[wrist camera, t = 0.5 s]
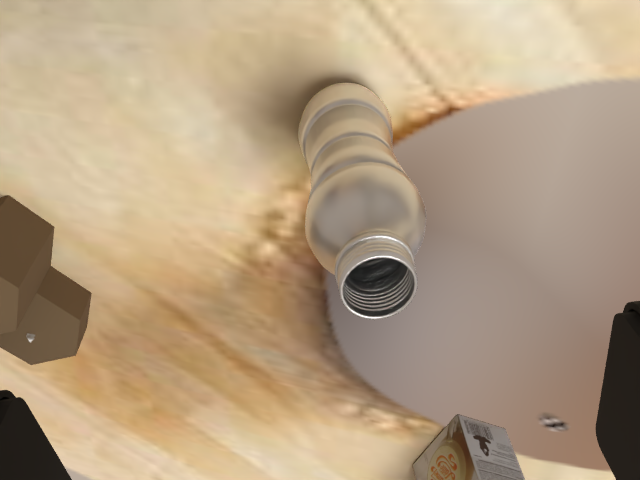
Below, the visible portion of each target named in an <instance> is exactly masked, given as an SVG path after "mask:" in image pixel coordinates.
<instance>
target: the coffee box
mask: <svg viewBox="0 0 640 480" xmlns="http://www.w3.org/2000/svg"><path fill="white" fill-rule="evenodd" d="M413 469H414V473H415V478H416V480H525V478H524V476H523V473H522V471H521V468H520V465H519V463H518V460H517V458H516V455H515V453H514V450H513V447H512V445H511V442H510V439H509V437H508V435H507V432H506V429H504V428H502V427H499V426H495V425H492V424H489V423H485V422H482V421H479V420H475V419H472V418H469V417H466V416H462V415H459V414H457V415H456V416H455V417H454V418H453V419H452V420H451V422H450V423H449V424H448V425H447V426H446V427H445V429H444V430H443V431H442V432H441V433H440V434H439V435H438V437H437V438H436V439H435V440H434V441H433V442H432V443H431V445H430V446H429V447H428V448H427V449H426V450H425V452H424V453H423V454H422V455H421V456H420V457H419V459H418V460H417V461H416V462H415V463H414V464H413Z"/></svg>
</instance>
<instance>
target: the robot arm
mask: <svg viewBox="0 0 640 480" xmlns="http://www.w3.org/2000/svg"><path fill="white" fill-rule="evenodd" d="M596 436H597V440H598V443H599V447H600V448H601V451H602V453H603V454H604V457H605V459H606V461H607V463H608V464H609V466H610V468H611V470H612V472H613V474H614V476H615V478H616V480H640V301H635V302H629V303H627V304H626V305H625V308H624V311H623V313H618V314H616V315H615V316H614V320H613V325H612V331H611V338H610V343H609V349H608V356H607V361H606V367H605V373H604V380H603V386H602V391H601V397H600V404H599V410H598V416H597V422H596ZM0 480H72V479H71V478H70V476H69V474H68V473H67V471H66V469H65V467H64V466H63V464H62V462H61V461H60V459H59V457H58V456H57V454H56V452H55V451H54V449H53V447H52V446H51V444H50V442H49V441H48V439H47V437H46V436H45V434H44V432H43V431H42V429H41V427H40V425H39V424H38V422H37V420H36V419H35V417H34V415H33V414H32V412H31V410H30V409H29V407H28V405H27V404H26V402H25V401H24V400H23V399H22V398H20V397H18V398H16V397H15V396H14V395H13V393H12V392H10V391H8V390H1V391H0Z"/></svg>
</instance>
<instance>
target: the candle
mask: <svg viewBox="0 0 640 480" xmlns="http://www.w3.org/2000/svg"><path fill="white" fill-rule="evenodd" d="M53 234H54V226H52V225H51V224H49V223H48V222H46V221H45V220H44V219H42V218H41V217H39V216H38V215H36V214H35V213H34V212H32V211H31V210H29V209H28V208H26V207H25V206H23V205H22V204H21V203H19V202H18V201H16V200H15V199H13V198H12V197H10V196H5V197H0V347H1V348H2V349H4V350H6V351H8V352H9V353H11V354H13V355H15V356H16V357H18V358H20V359H22V360H23V361H25V362H27V363H29V364H30V365H33V364H38V363H43V362H47V361H52V360H57V359H62V358H66V357H71V356H76V353H77V351H78V348H79V346H80V343H81V341H82V338H83V336H84V333H85V331H86V328H87V322H88V315H89V308H90V300H91V292H89V291H88V290H86V289H85V288H83V287H82V286H80V285H79V284H77V283H76V282H74V281H73V280H71V279H70V278H68V277H67V276H65V275H64V274H62V273H60V272H59V271H57V270H56V269H54V268H53V267H51V257H52V246H53Z"/></svg>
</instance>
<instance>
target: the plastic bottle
mask: <svg viewBox="0 0 640 480" xmlns="http://www.w3.org/2000/svg"><path fill="white" fill-rule="evenodd" d="M392 136H393V133H392V123H391V117H390V114H389V112H388V109H387V108H386V106H385V105H384V103H383V102H382V101H381V100H380V99H379V98H378V97H377V96H376V95H375V94H374V93H373V92H372V91H371V90H369V89H367V88H366V87H364V86H361V85H359V84H355V83H337V84H333V85H330V86H328V87H326V88H324V89H322V90H321V91H319V92H318V93H317V94H315V95H314V96H313V98H312V99H311V100H310V101H309V102H308V104H307V106H306V107H305V109H304V112H303V115H302V117H301V120H300V123H299V129H298V141H299V145H300V149H301V151H302V154H303V157H304V159H305V161H306V163H307V164H308V166H309V170H310V173H311V191H310V196H309V201H308V206H307V211H306V221H305V231H306V237H307V241H308V244H309V246H310V248H311V250H312V252H313V254H314V255H315V257H316V258H317V260H318V261H319V262H320V263H321V265H322V266H323V267H324V268H325V269H327V270H328V271H329V272H331V273H332V274H334V275H335V278H336V282H337V284H338V288H339V294H340V298H341V300H342V302H343V304H344V306H345V307H346V308H347V309H348V310H349V311H350V312H352V313H353V314H355V315H357V316H359V317H362V318H366V319H383V318H388V317H390V316H393V315H396V314H397V313H399V312H400V311H402V310H403V309H405V308H406V307H407V306H408V305H409V304H410V302H411V301H412V300H413V298H414V296H415V294H416V291H417V284H418V282H417V281H418V280H417V274H416V270H415V260H414V256H415V255H416V253H417V251H418V250H419V248H420V246H421V244H422V241H423V237H424V231H425V225H426V210H425V205H424V202H423V200H422V197H421V195H420V193H419V191H418V190H417V188H416V186H415V185H414V184H413V182H412V181H411V180H410V179H409V177H408V175H407V174H406V173H405V172H404V171H403V169H402V168H401V166H400V165H399V163H398V161H397V159H396V157H395V155H394V153H393V147H392Z"/></svg>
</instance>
